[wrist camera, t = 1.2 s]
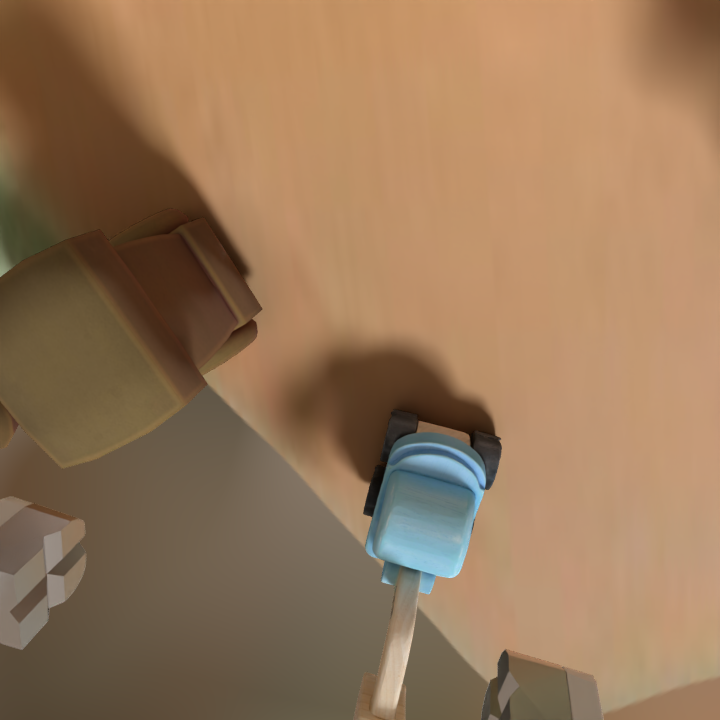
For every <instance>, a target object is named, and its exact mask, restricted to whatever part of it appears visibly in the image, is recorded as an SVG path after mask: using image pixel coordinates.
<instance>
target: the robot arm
mask: <svg viewBox="0 0 720 720" xmlns="http://www.w3.org/2000/svg"><path fill="white" fill-rule="evenodd" d="M84 536H85V525H84V521H82V520H80V519H78V518H76V517H73V516H70V515H66V514H64V513H61V512H58V511H55V510H52V509H49V508H46V507H43V506H40V505H37V504H33V503H30V502H27V501H24V500H21V499H18V498H15V497H12V496H11V497H7V498H4V499H1V500H0V643H1V644H5V645H8V646H11V647H14V648H17V649H21V650H22V649H23V648H24V647H25V646H26V645H27V644H28V643H29V641H30V640H31V639H32V638H33V637H34V636H35V635H36V634H37V632H38V631H39V630H40V629H41V628H42V627H43V625H45V623H46V622H47V621H48V616H49V608H51V607H53V606H55V605H58V604H60V603H62V602H65V601H66V600H67V599H68V597H69V596H70V595H71V594H72V593H73V591H74V590H75V589H76V587H77V585H78V583H79V581H80V580H81V578H82V576H83V574H84V569H85V565H86V552H85V550H84V549H83V547H82V546H81V544H80V543H79V541H80V540H81V539H82V538H83V537H84ZM481 720H604V719H603V714H602V709H601V703H600V698H599V693H598V688H597V683H596V680H595V679H594V677H593V675H590V674H587V673H583V672H580V671H577V670H573V669H570V668H567V667H561V666H560V665H558V664H554V663H551V662H548V661H544V660H541V659H537V658H534V657H531V656H527V655H524V654H520V653H517V652H514V651H510V650H507V649H505V650H504V651H503V652H502V654H501V656H500V659H499V661H498V677H496V678H494V679H492V680H490V683H489V686H488V688H487V691H486V694H485V699H484V704H483V708H482V716H481Z"/></svg>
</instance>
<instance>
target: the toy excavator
mask: <svg viewBox="0 0 720 720" xmlns="http://www.w3.org/2000/svg"><path fill="white" fill-rule="evenodd" d="M391 414H392V416H391V418H390V420H389V423H388V429H387V433H386V437H385V440H384V445H383V449H382V453H381V458H380V460H381V461H383V462H387V466H386V467H384V466H381V465H377V467H375V472H374V475H373V477H372V480H371V483H370V486H369V491H368V494H367V498H366V503H365V507H364V512H363V514H364V515H367V516H371V517H372V521H371V525H370V528H369V532H368V536H367V540H366V544H365V549H366V552H367V553H368V554H369V555H370V556H372V557H375V558H379V559H381V560H384V561H385V562H384V567H383V572H382V577H381V581H382V582H384V583H387V584H391V585H394V586H395V587H394V596H393V602H392V609H391V616H390V621H389V626H388V631H387V635H386V640H385V644H384V649H383V653H382V658H381V662H380V666H379V670H378V675H377V676H376V675H373V674H370V673H364V676H363V679H362V683H361V687H360V691H359V695H358V700H357V705H356V709H355V714H354V720H405V695H406V686H405V685H404V684H402V683H403V678H404V674H405V670H406V666H407V661H408V657H409V652H410V647H411V642H412V637H413V631H414V625H415V617H416V610H417V603H418V595H419V592H422V593H426V594H430V592H431V590H432V587H433V584H434V581H435V577H436V575H437V576H442V577H447V578H453V577H455V576H457V574H458V573H459V572H460V570H461V568H462V565H463V562H464V559H465V556H466V553H467V549H468V545H469V541H470V536H471V533H472V530H473V526H474V520H475V516H476V513H477V510H478V507H479V505H480V502H481V500H482V497H483V494H484V491H485V489H486V490H489V489H490V488H491V486H492V484H493V482H494V479H495V476H496V473H497V469H498V465H499V460H500V457H501V449H502V446H501V443H500V442H499V440H501V438H500V437H497V436H493V435H490V434H486V433H483V432H479V431H477V430H475V431H474V432H473V433H472V436H471V439H470V436H469V435H468V434H466V433H464V432H461V431H457V430H454V429H450V428H446V427H442V426H438V425H434V424H430V423H426V422H422V421H418V419H417V417H418V416H417V414H412V413H408V412H404V411H400V410H393V411H392V412H391Z"/></svg>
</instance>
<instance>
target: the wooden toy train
mask: <svg viewBox="0 0 720 720" xmlns="http://www.w3.org/2000/svg"><path fill="white" fill-rule="evenodd" d="M261 310H262V307H261V306H260V304H259V303H258V301H257V299H256V298H255V296H254V295H253V293H252V292H251V290H250V289H249V287H248V285H247V284H246V282H245V281H244V279H243V278H242V276H241V274H240V273H239V271H238V270H237V268H236V267H235V265H234V264H233V262H232V260H231V259H230V257H229V256H228V254H227V253H226V251H225V250H224V248H223V246H222V245H221V243H220V242H219V240H218V239H217V237H216V236H215V234H214V232H213V231H212V229H211V228H210V226H209V225H208V223H207V221H206V220H205V218H204V217H202V218H199V219H197V220H194V221H191V222H189V221H188V217H187V216H186V215H185V214H183V213H182V212H180V211H179V210H176V209H167V210H164V211H161V212H159V213H156V214H154V215H152V216H150V217H148V218H146V219H144V220H142V221H140V222H138V223H136V224H135V225H132V226H131V227H129V228H128V229H126V230H124V231H123V232H121V233H119V234H118V235H116V236H115V237H113V238H112V239H110V240H109V241H108V240H107V238H106V237H105V236H104V234H103V233H102V231H101V230H100V229H99V230H96V231H93V232H90V233H86V234H83V235H80V236H77V237H73V238H70V239H67V240H64V241H62V242H60V243H58V244H56V245H54V246H52V247H50V248H48V249H45V250H43V251H41V252H39V253H37V254H35V255H33V256H31V257H29V258H27V259H25V260H23V261H21V262H20V263H19V264H17V265H16V266H15V267H13V268H12V269H11V270H9V271H8V272H7V273H5V274H4V275H3V276H1V277H0V449H3V448H6V447H7V446H8V444H9V442H10V440H11V438H12V437H13V435H14V433H15V431H16V429H17V427H18V425H20V426H21V428H22V429H23V430H24V431H25V432H26V433H27V434H28V435H29V436H30V437H31V438H32V439H33V440H34V441H35V442H36V443H37V444H38V445H39V446H40V447H41V448H42V449H43V450H44V451H45V452H46V453H47V454H48V455H49V456H50V457H51V458H52V459H53V460H54V461H55V462H56V463H57V464H58V465H59V466H60V467H61V468H62V469H63V468H67V467H70V466H73V465H77V464H81V463H84V462H88V461H91V460H95V459H98V458H100V457H102V456H103V455H106V454H108V453H110V452H111V451H113V450H115V449H117V448H119V447H121V446H123V445H125V444H127V443H129V442H131V441H133V440H135V439H137V438H139V437H141V436H143V435H145V434H147V433H149V432H151V431H152V430H154V429H155V428H157V427H158V426H159V425H160V424H162V423H163V422H164V421H166V420H167V419H169V418H170V417H171V416H172V415H174V414H175V413H176V412H178V411H179V410H180V409H182V408H183V407H184V406H186V405H187V404H188V403H189V402H190V401H191V400H192V399H193V398H194V397H195V396H196V395H197V394H198V393H199V392H200V391H201V390H202V389H203V388H204V387H205V386H206V385H207V382H206V381H205V379H204V378H203V376H202V375H204V374H206V373H208V372H209V371H211V370H213V369H215V368H216V367H218V366H219V365H221V364H223V363H225V362H226V361H227V360H229V359H230V358H232V357H233V356H235V355H236V354H238V353H239V352H240V351H242V350H243V349H244V348H246V347H247V346H248V345H249V344H250V343H252V342H253V341H254V340H255V338H256V337H257V333H258V331H257V324H256V322H255V321H254V320H253V319H252V318H253V317H254V316H255V315H257V314H258V313H259V312H260V311H261Z"/></svg>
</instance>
